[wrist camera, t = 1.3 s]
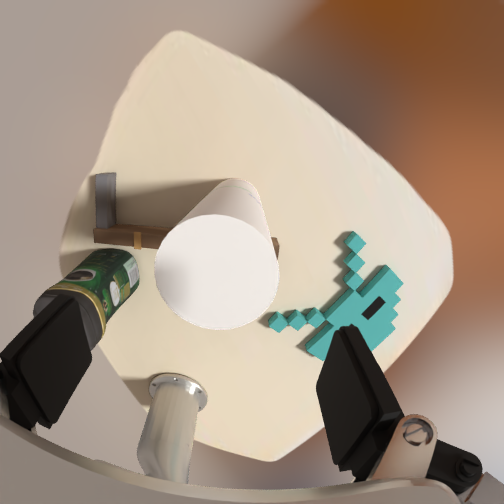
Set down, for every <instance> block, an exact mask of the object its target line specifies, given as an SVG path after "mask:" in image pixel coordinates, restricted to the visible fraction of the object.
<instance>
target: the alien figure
mask: <svg viewBox="0 0 504 504" xmlns="http://www.w3.org/2000/svg"><path fill="white" fill-rule="evenodd" d="M344 243H346V244H347V245H348V246H349V247H350V248H351V249H352V250H353V251H352V252H351V253H350V254H349V255H348V256H347V257H346V258H345V259H344V260H343V261H344V262H345V263H346V264H347V265H348V266H349V267H350V268H351V270H350V271H349V273H348V274H347V275H346V276H345V277H344V278H343V280H344V281H345V283H346V284H347V285H348V286H349V287H350V288H349V289H348V290H347V291H346V292H345V293H344V294H343V295H342V296H341V297H340V298H339V299H338V300H337V301H336V302H335V303H334V304H333V305H332V306H331V307H330V308H329V309H328V310H327V311H326V312H325V313H324V314H323V313H321V312H320V311H319V310H317V309H316V308H315V307H314V308H313V309H312V310H311V311H310V312H309V313H308V314H307V315H306V316H304V315H303V314H302V313H300V312H299V311H298V310H295V311H294V312H293V313H292V314H291V315H290V316H289V317H288V318H286V317H284V316H283V315H282V314H280V313H279V312H276V313H275V314H274V315H273V316H272V317H271V318H270V319H269V320H268V322H269V327H271V328H272V329H274V330H275V331H277V332H278V333H279V332H281V331H282V330H283V329H284V328H285V327H286V326H287V325H288V324H289V325H290V326H292V327H293V328H295V329H296V330H297V331H298V330H299V329H300V328H301V327H302V326H304V325H305V324H306V323H307V322H308V323H309V324H311V325H312V326H314V327H315V328H317V327H318V326H320V325H321V324H322V323H323V322H324V321H325V320H327V321H328V322H329V323H328V324H327V325H326V326H325V327H324V328H323V329H322V330H321V331H320V332H319V333H318V334H316V335H315V336H314V337H313V338H312V339H311V340H310V341H309V342H308V343H307V344H305V346H306V350H307V351H308V352H309V353H311V354H312V355H314V356H316V357H317V358H319V359H320V360H322V361H324V360H325V358H326V355H327V352H328V349H329V346H330V343H331V340H332V337H333V334H334V332H335V330H339V328H340V327H341V326H357V327H358V328H359V330H360V332H361V334H362V336H363V338H364V339H365V341H366V343H367V345H368V347H369V349H370V350H371V351H372V350H374V349H375V348H376V347H377V346H378V345H379V344H380V343H381V342H382V341H383V340H384V339H385V338H386V337H388V336H389V335H390V334H391V333H392V332H393V331H394V330H395V329H396V328H395V327H394V326H393V324H392V323H391V322H392V321H393V320H394V319H395V318H396V316H397V315H398V313H397V312H396V311H395V310H394V309H393V307H394V306H395V305H396V304H397V303H398V302H399V301H400V300H401V299H400V298H399V297H398V296H397V295H396V294H395V292H396V291H397V290H398V289H399V288H400V287H401V286H402V285H403V284H404V283H403V282H402V281H401V280H400V279H399V278H398V277H397V276H396V275H395V273H394V272H393V271H392V270H391V269H390V268H389V267H388V266H387V265H385V266H384V267H383V268H382V269H381V270H380V271H379V273H378V274H377V275H376V276H375V277H374V278H373V279H372V280H371V281H370V282H369V283H368V284H367V285H366V286H365V287H364V289H363V290H362V291H361V292H360V293H358V292H357V291H356V289H357V288H358V287H359V286H360V285H361V284H362V283H363V282H364V280H363V279H362V278H361V277H360V276H359V275H358V274H357V273H356V272H357V271H358V270H359V269H360V268H361V267H362V266H363V265H364V264H365V262H364V261H363V260H362V259H361V258H360V257H359V256H358V255H357V253H358V252H359V251H360V250H361V249H362V248H363V247H364V245H365V244H366V243H365V242H364V241H363V240H362V239H361V238H360V237H359V236H358V235H357V234H356V233H355V232H354V231H353V232H352V233H351V234H350V235H349V236H348V237H347V239H346V240H345V241H344Z"/></svg>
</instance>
